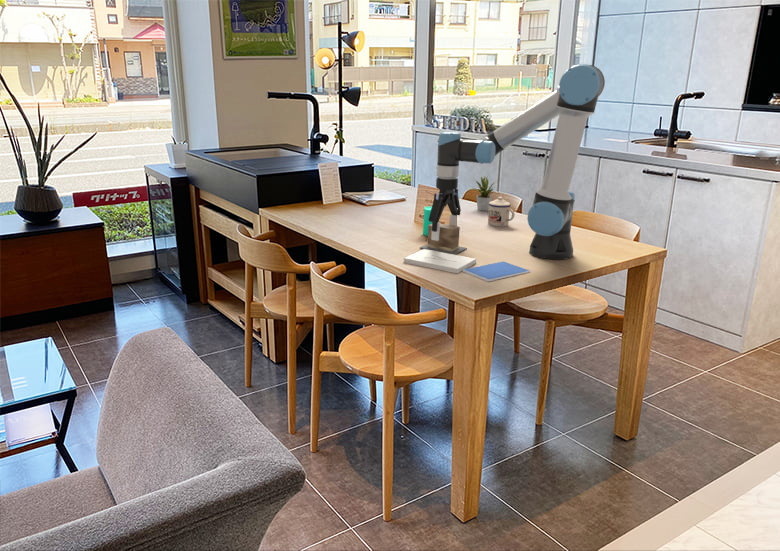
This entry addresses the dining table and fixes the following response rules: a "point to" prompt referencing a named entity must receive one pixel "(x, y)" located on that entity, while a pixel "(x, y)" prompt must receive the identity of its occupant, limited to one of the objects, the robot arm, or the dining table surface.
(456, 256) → the marked board
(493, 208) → the teacup with lid
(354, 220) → the dining table surface
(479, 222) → the dining table surface
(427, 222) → the candle
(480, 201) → the house plant
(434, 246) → the sanding block
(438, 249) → the mat
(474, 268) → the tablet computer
